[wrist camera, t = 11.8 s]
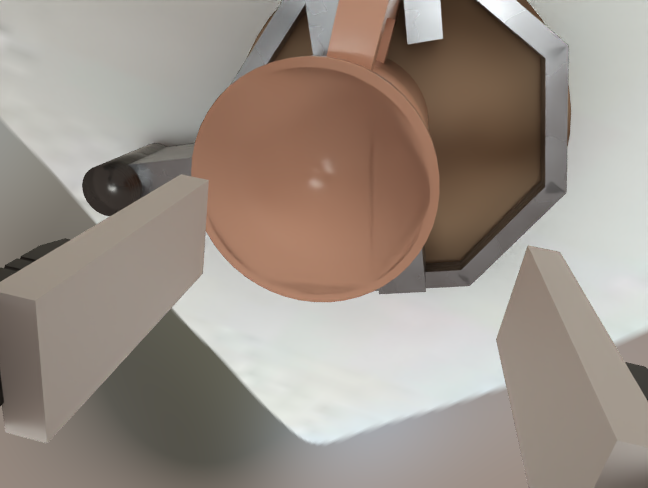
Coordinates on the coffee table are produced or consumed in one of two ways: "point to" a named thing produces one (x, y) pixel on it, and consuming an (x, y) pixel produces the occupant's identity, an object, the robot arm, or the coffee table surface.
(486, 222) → the base plate
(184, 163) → the collar
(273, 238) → the terracotta mug
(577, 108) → the coffee table surface
